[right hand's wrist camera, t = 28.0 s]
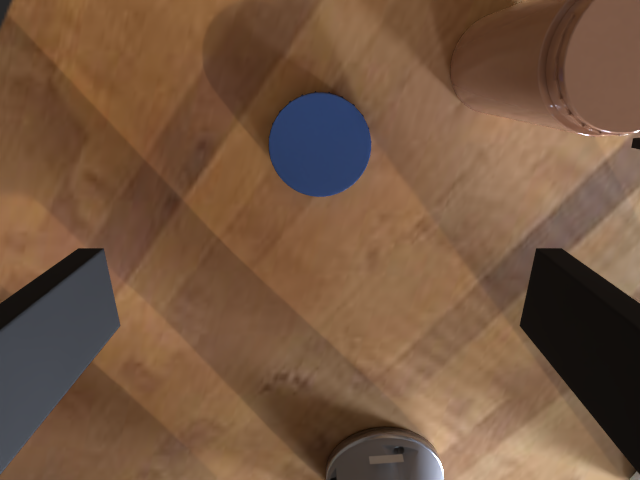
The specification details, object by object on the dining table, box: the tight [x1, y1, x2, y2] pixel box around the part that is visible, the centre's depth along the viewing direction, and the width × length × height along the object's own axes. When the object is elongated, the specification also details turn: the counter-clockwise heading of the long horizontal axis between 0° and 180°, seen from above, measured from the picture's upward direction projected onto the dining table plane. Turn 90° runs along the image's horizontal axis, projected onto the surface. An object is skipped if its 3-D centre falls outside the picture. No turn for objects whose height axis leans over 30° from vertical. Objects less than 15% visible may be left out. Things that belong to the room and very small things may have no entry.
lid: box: [269, 91, 371, 197], centre depth 38 cm, size 9×9×2 cm
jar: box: [450, 0, 640, 136], centre depth 28 cm, size 8×8×18 cm
